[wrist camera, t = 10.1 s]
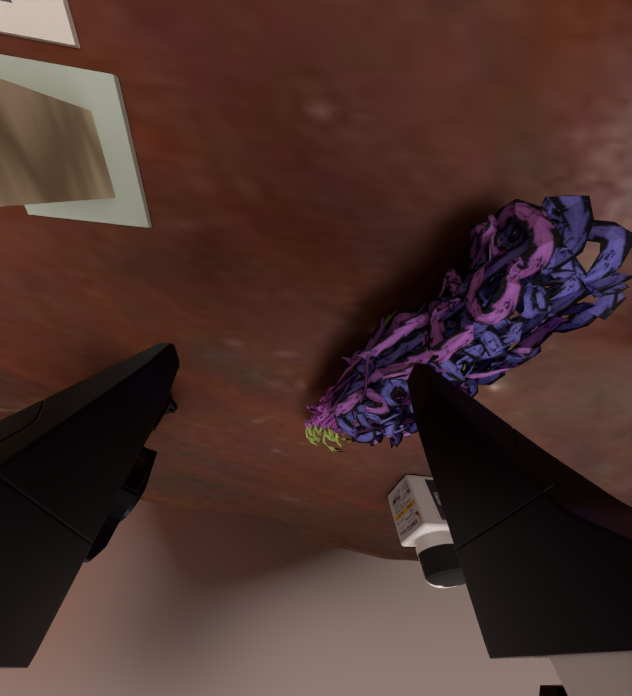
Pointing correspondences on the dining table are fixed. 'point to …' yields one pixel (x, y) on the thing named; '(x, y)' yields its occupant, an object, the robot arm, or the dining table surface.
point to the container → (426, 529)
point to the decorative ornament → (482, 315)
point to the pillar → (48, 150)
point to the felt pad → (112, 129)
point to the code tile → (39, 21)
